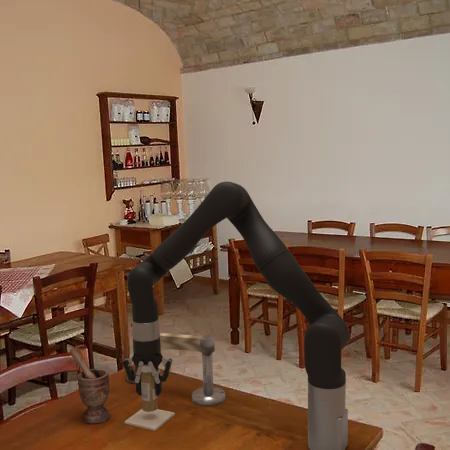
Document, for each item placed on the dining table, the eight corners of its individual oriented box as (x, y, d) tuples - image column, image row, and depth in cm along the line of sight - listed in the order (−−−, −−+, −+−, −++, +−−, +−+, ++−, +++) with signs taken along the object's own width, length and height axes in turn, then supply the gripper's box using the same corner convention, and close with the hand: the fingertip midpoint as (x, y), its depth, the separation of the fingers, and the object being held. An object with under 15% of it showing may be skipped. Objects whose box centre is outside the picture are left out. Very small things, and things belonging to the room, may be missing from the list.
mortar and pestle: (65, 423, 159) (60, 355, 156) (77, 409, 168) (73, 343, 165) (104, 426, 157) (100, 356, 154) (115, 411, 166) (111, 345, 163)
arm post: (230, 394, 175) (229, 349, 173) (215, 408, 166) (214, 360, 164) (202, 389, 179) (200, 344, 177) (185, 402, 170) (184, 355, 168)
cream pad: (174, 414, 163) (174, 412, 163) (155, 430, 154) (154, 428, 154) (145, 408, 167) (145, 406, 167) (124, 423, 159) (124, 421, 158)
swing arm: (216, 349, 172) (216, 335, 171) (212, 354, 168) (211, 340, 167) (143, 343, 179) (142, 329, 178) (137, 347, 174) (136, 334, 174)
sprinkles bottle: (160, 409, 160) (159, 363, 158) (146, 414, 157) (143, 367, 155) (153, 403, 163) (151, 358, 161) (138, 408, 161) (136, 362, 159)
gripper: (174, 331, 160) (177, 389, 163) (124, 330, 162) (128, 388, 164) (169, 340, 153) (171, 401, 155) (116, 339, 154) (120, 399, 157)
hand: (149, 394), depth 160 cm, fingers closed on sprinkles bottle, 4 cm apart
